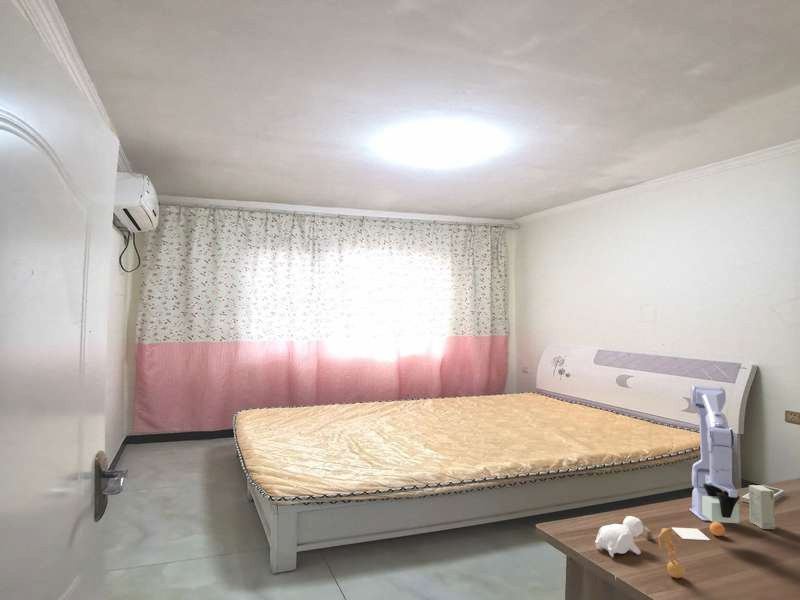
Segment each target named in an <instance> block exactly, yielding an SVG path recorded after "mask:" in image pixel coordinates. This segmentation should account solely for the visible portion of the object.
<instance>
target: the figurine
mask: <svg viewBox="0 0 800 600" xmlns="http://www.w3.org/2000/svg"><path fill="white" fill-rule="evenodd" d="M672 536H673V537H675V539H676V540H677V541H678V542H679V543H680V545H681V546H683V544H682V541H681V540H680V538H679V537H678V536H677V535H676V532H674V531H672V528H671V527H668V528H666V527H663V528H661V530H660V534H659V535H658V536H657V540H658V541H657V542H658V545H659V550H660V551H661V552H662V551H663V550H664V549H663V547H662V542H661V538H663V539H664V540H665V543H664V545H665V547H666V549H667V550H668V553H667V554H668V558H669V560H670V561H669V562H668V564H667V566H666V569H667V573H668V574H669V576H671V577H673V578H675V579H681V578H682V577H684V575H685V567H684V565H682V563H681V562H679V560H677V558H676V554H677V553H678V551H679V550H678V548H677V547H676V545H675V543H674V541H672ZM673 550H674V551H673ZM672 558H673V559H672Z"/></svg>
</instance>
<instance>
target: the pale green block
mask: <svg viewBox="0 0 800 600" xmlns="http://www.w3.org/2000/svg"><path fill="white" fill-rule="evenodd" d="M739 505H740V503H738V501H737V502H736V504H735V506H734V508H733V511H732V515H731V518H725V517H722V514H721V507H720V502H719V499H718V496H702V514H703V515H704V516H705V517H707V518H708V519H709V520H710V521H709V522H712V523H713V522H718V523H729V524H731V523H732V524H740V506H739Z"/></svg>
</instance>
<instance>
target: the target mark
mask: <svg viewBox="0 0 800 600" xmlns="http://www.w3.org/2000/svg"><path fill="white" fill-rule="evenodd" d="M670 529H671V530H673V532H674V533H675V534H677V535H678V536H679V537H680V538H681V539H682V540H694V541H695V540H696V541H711V539H710V538H709V537H708V536H706V535H705V534H704V533H703V532H702V531H701V530H699V528H691V527H690V528H689V527H670Z"/></svg>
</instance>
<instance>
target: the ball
mask: <svg viewBox="0 0 800 600" xmlns="http://www.w3.org/2000/svg"><path fill="white" fill-rule="evenodd" d="M725 529H726V528H725V527H724V525H723V524H722V523H721V522H712V523H710V525H709V531H710V532H711V533H712V535H714V536H716V537H721V536H723V535H724V534H725V531H726V530H725Z"/></svg>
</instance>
